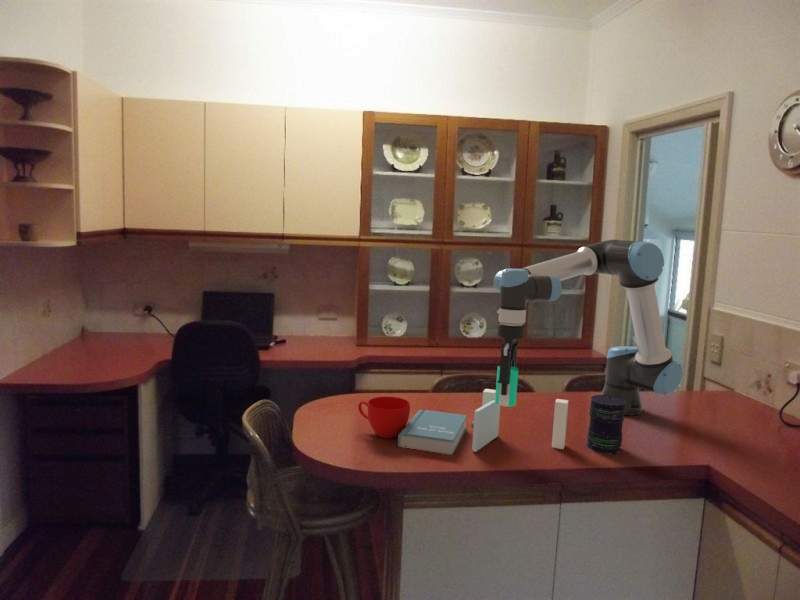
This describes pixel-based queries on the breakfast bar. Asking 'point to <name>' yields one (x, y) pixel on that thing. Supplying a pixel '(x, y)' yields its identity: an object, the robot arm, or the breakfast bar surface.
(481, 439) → the door
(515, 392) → the candle
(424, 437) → the book
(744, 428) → the breakfast bar surface
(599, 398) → the storage jar
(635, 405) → the robot arm
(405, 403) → the ceramic cup
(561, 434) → the door frame
